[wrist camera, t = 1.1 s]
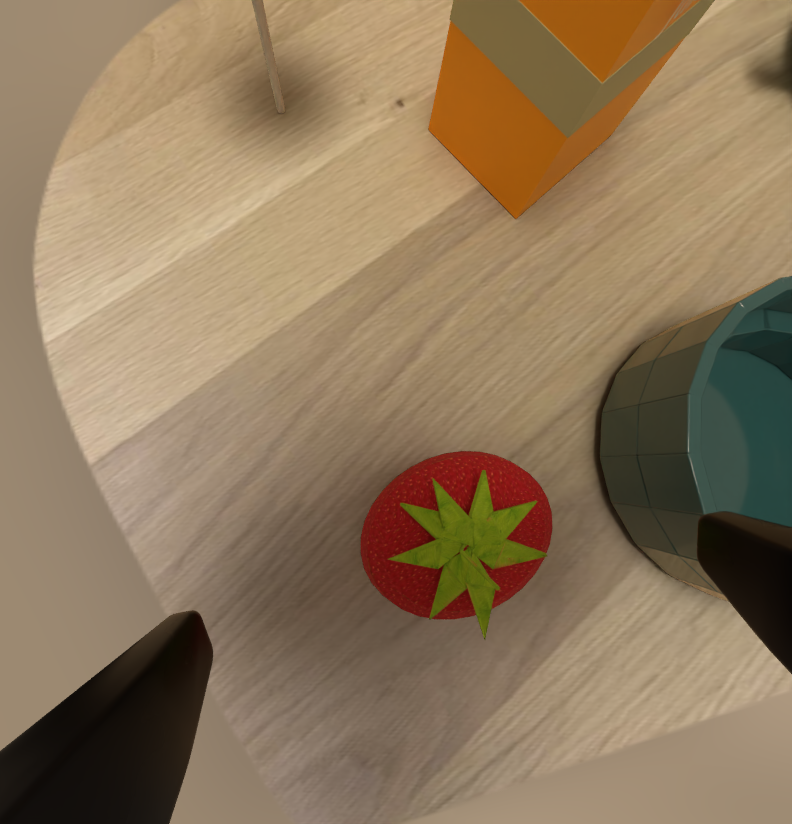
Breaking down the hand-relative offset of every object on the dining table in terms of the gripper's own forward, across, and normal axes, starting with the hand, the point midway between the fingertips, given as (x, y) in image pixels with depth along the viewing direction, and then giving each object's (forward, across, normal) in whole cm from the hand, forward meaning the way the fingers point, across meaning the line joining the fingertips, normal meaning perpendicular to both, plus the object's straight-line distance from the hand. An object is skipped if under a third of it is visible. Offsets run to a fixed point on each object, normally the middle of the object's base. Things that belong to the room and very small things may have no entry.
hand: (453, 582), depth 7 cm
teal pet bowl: (+14, -18, +7) cm, 23 cm away
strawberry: (+13, -1, +6) cm, 14 cm away
